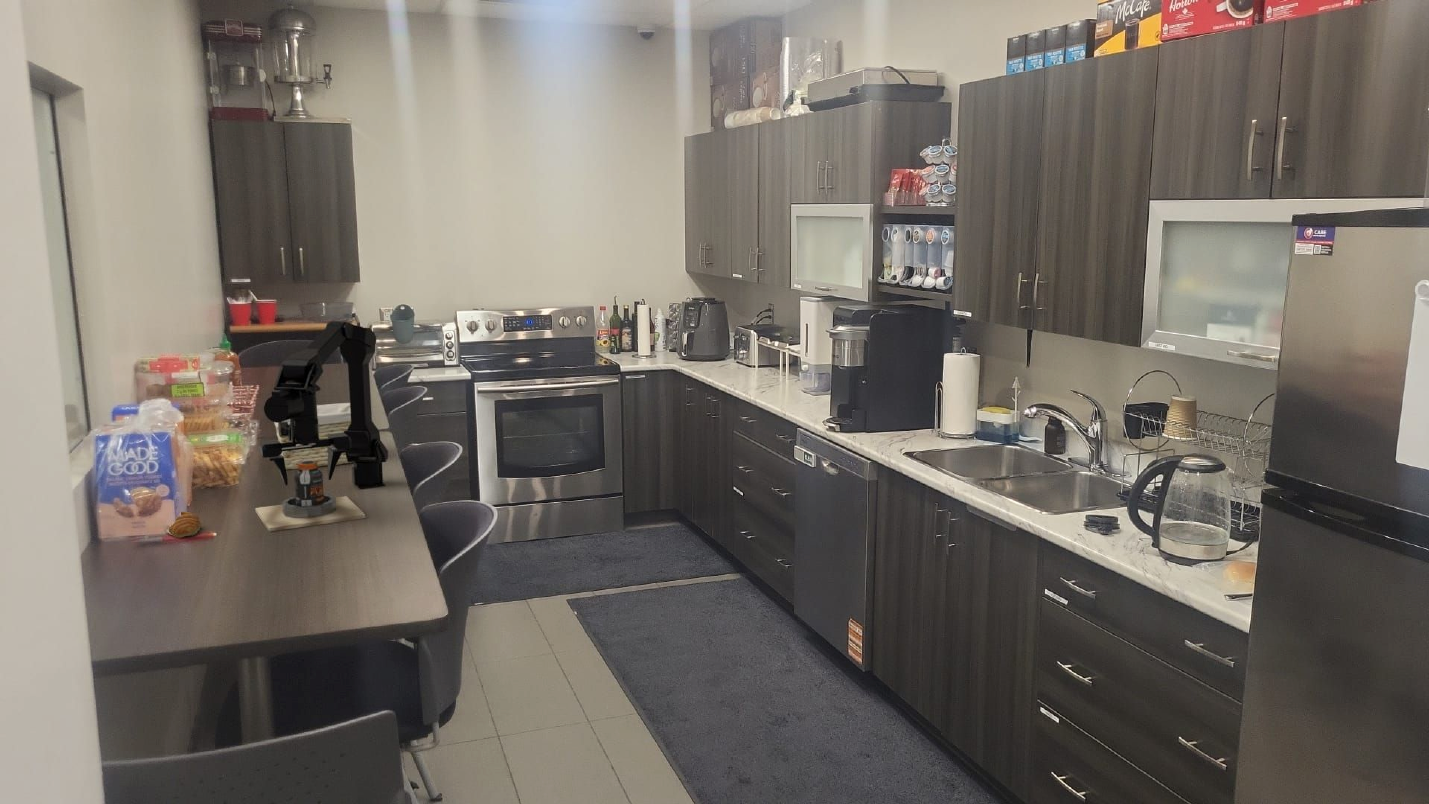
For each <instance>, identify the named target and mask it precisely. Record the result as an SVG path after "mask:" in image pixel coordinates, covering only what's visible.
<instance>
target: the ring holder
mask: <svg viewBox="0 0 1429 804" xmlns="http://www.w3.org/2000/svg"><path fill="white" fill-rule="evenodd" d="M255 513H256V514H257V516H258V517H259V518H260V520H261V521H262V523H263V525H264V526H265V527H266V529H267V531H268V532H269V533H270V532H276V531H283V530H290V529H298V528H304V527H312V526H318V525H320V526H321V525H324V524H327V525H328V524H332V523H339V522H346V521H348V522H349V521H353V520H354V521H355V520H361V519H366V514H365V512H363V511H362V509H360V508H359V507H358V506H357V505H356V504H355V503H354V502H353V501H352V500H351V499H350V498H349V497H348V496H347V495H345V496H337V497H335V496H334V495H330V494H326V493H324V503H322V504H319V505H311V506H296V498H295V496H293V497H288V498H286V499H285V500H283V501H282V502H281V504H277V505H276V504H275V505H269V506H260V507H255Z"/></svg>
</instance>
